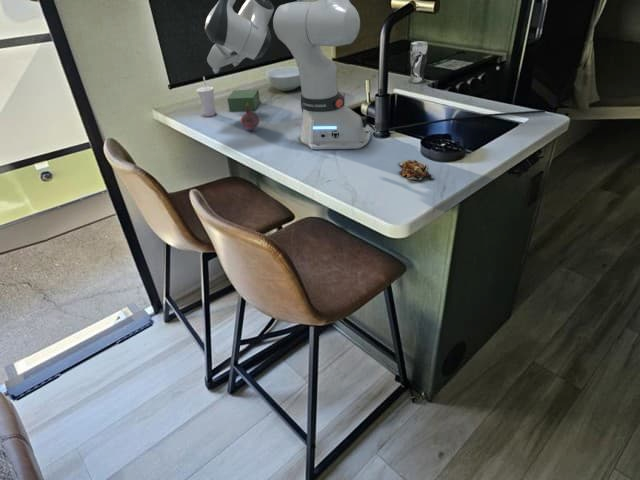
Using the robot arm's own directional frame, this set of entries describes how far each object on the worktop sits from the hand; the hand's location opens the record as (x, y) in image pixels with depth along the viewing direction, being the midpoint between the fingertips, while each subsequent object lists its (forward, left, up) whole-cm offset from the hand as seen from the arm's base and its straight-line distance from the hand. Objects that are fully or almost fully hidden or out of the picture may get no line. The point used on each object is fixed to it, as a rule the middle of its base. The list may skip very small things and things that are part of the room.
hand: (225, 67), depth 149 cm
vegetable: (-11, +10, -18) cm, 24 cm away
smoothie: (+12, -3, -18) cm, 22 cm away
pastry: (-68, +31, -18) cm, 77 cm away
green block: (+2, -13, -18) cm, 23 cm away
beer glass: (-60, -51, -18) cm, 81 cm away
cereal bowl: (-7, -37, -18) cm, 42 cm away
